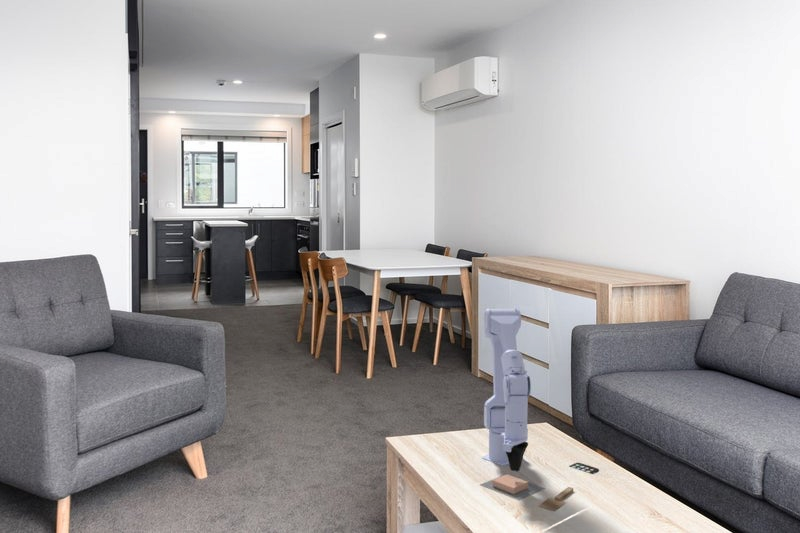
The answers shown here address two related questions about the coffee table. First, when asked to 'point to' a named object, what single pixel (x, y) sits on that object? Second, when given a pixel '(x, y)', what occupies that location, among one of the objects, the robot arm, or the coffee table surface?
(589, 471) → the smartphone
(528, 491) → the mat
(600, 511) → the coffee table surface
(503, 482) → the tile
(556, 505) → the walnut turner
